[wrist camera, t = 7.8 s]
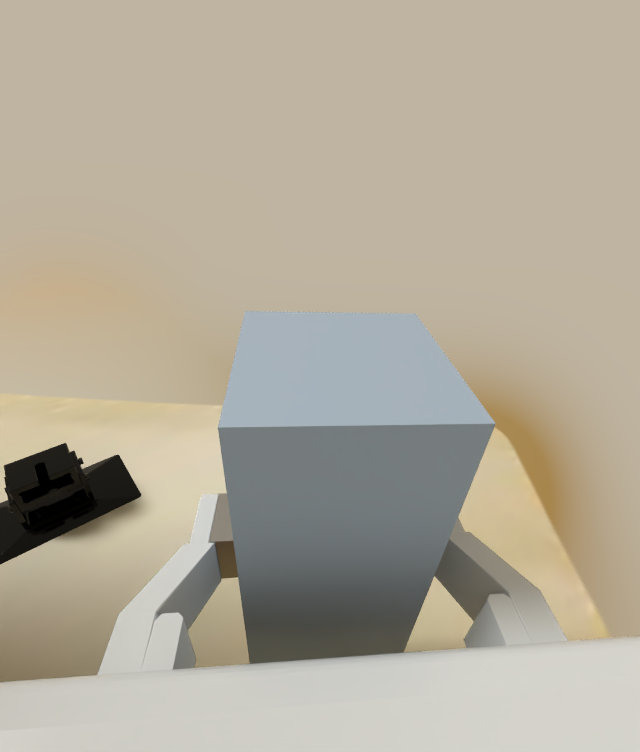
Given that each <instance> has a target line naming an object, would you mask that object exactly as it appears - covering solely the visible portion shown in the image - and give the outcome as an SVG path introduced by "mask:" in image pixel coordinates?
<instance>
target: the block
mask: <svg viewBox="0 0 640 752" xmlns="http://www.w3.org/2000/svg"><path fill="white" fill-rule="evenodd" d="M494 426H495V422H494V421H493V420H492V418H491V417H490V416H489V414H488V413H487V411H486V410H485V408H484V407H483V406H482V404H481V403H480V402H479V400H478V399H477V397H476V396H475V395H474V393H473V392H472V391H471V389H470V388H469V386H468V385H467V384H466V382H465V381H464V380H463V378H462V377H461V375H460V374H459V373H458V371H457V370H456V369H455V367H454V366H453V364H452V363H451V362H450V360H449V359H448V358H447V356H446V355H445V354H444V352H443V351H442V349H441V348H440V347H439V345H438V344H437V343H436V341H435V340H434V338H433V337H432V336H431V334H430V333H429V332H428V330H427V329H426V327H425V326H424V325H423V323H422V322H421V321H420V319H419V318H418V317H417V315H416V314H397V313H329V312H328V313H327V312H259V311H255V312H254V311H245V315H244V319H243V323H242V327H241V332H240V336H239V340H238V345H237V349H236V353H235V357H234V362H233V366H232V370H231V374H230V379H229V383H228V387H227V392H226V396H225V401H224V404H223V409H222V413H221V417H220V421H219V426H218V431H219V438H220V445H221V453H222V460H223V468H224V475H225V482H226V490H227V497H228V505H229V512H230V519H231V527H232V534H233V542H234V549H235V556H236V564H237V571H238V579H239V586H240V593H241V601H242V608H243V616H244V623H245V630H246V638H247V645H248V653H249V660H250V664H255V663H269V662H282V661H296V660H310V659H323V658H337V657H351V656H365V655H378V654H392V653H403V652H404V649H405V647H406V645H407V642H408V640H409V637H410V635H411V632H412V630H413V627H414V625H415V622H416V620H417V617H418V615H419V612H420V610H421V607H422V605H423V602H424V600H425V597H426V595H427V592H428V590H429V588H430V585H431V583H432V580H433V578H434V575H435V573H436V570H437V568H438V565H439V563H440V560H441V558H442V555H443V553H444V550H445V548H446V545H447V543H448V540H449V538H450V535H451V533H452V531H453V528H454V526H455V523H456V521H457V518H458V516H459V513H460V511H461V508H462V506H463V503H464V501H465V498H466V496H467V493H468V491H469V488H470V486H471V483H472V481H473V478H474V476H475V474H476V471H477V469H478V466H479V464H480V461H481V459H482V456H483V454H484V451H485V449H486V446H487V444H488V441H489V439H490V436H491V434H492V431H493V429H494Z"/></svg>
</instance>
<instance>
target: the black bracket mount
mask: <svg viewBox="0 0 640 752" xmlns="http://www.w3.org/2000/svg"><path fill="white" fill-rule="evenodd" d="M81 464H83V460H82V458H79V459H78V458H77V456H76V453H75V451H72V452H70V451H69V449H68V446H67V444H66V443H64V444H61V445H58V446H56V447H53V448H50V449H48V450H45V451H42V452H40V453H37V454H34V455H31V456H29V457H26V458H23V459H21V460H18V461H15V462H12V463H10V464H7V465H4V470H5V476H6V477H4V478H5V484H6V488H5V491H6V493H7V495H8V500H7V501H5V502H2V503H0V564H2V563H4V562H6V561H8V560H10V559H12V558H14V557H17V556H19V555H21V554H23V553H25V552H27V551H29V550H31V549H33V548H35V547H37V546H39V545H41V544H44V543H46V542H48V541H50V540H52V539H54V538H56V537H58V536H60V535H62V534H64V533H66V532H69V531H71V530H73V529H75V528H77V527H79V526H81V525H83V524H85V523H87V522H89V521H91V520H93V519H96V518H98V517H100V516H102V515H104V514H106V513H108V512H110V511H112V510H114V509H116V508H118V507H120V506H123V505H125V504H127V503H129V502H131V501H133V500H135V499H137V498H139V497H140V496H141V493H140V492H139V490H138V488H137V486H136V484H135V483H134V481H133V479H132V477H131V476H130V474H129V472H128V470H127V469H126V467H125V465H124V463H123V461H122V460H121V458H120V456H119V455H115V456H113V457H110V458H108V459H105V460H103V461H101V462H98V463H96V464H93V465H91V466H89V467H86V468H84V469H82V467H81Z"/></svg>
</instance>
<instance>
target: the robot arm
mask: <svg viewBox="0 0 640 752" xmlns="http://www.w3.org/2000/svg"><path fill="white" fill-rule="evenodd" d="M434 576H435V577H436V578H437V579H438V580H439V581H440V582H441V584H442V585H443V586H444V587H445V588H446V589H447V591H448V592H449V593H450V594H451V595H452V596H453V598H454V599H455V600H456V601H457V602H458V603H459V605H460V606H461V607H462V608H463V609H464V610H465V611H466V613H467V614H468V615H469V616H470V617H471V618H472V620H473V621H474V622H473V624H472V626H471V627H470V629H469V631H468V633H467V634H466V636H465V638H464V642H465V645H466V648H461V649H447V650H433V651H420V652H406V653H392V654H378V655H365V656H351V657H337V658H323V659H310V660H296V661H282V662H269V663H255V664H241V665H227V666H214V667H200V668H195V662H196V657H195V654H194V650H193V647H192V644H191V641H190V638H189V634H188V630H189V628H190V627H191V625H192V624H193V622H194V621H195V619H196V618H197V616H198V615H199V613H200V612H201V610H202V609H203V607H204V606H205V604H206V603H207V601H208V600H209V598H210V597H211V595H212V594H213V592H214V591H215V589H216V588H217V586H218V585H219V583H220V582H221V579H222V578H235V577H238V571H237V564H236V556H235V549H234V542H233V534H232V527H231V519H230V512H229V505H228V497H227V494H202V496H201V498H200V501H199V505H198V509H197V514H196V518H195V522H194V526H193V530H192V535H191V539H190V543H188V544H184V545H183V546H182V547H181V548H180V549H179V550H178V551H177V552H176V553H175V554H174V555H173V556H172V558H171V559H170V560H169V561H168V562H167V563H166V564H165V565H164V566H163V567H162V568H161V569H160V570H159V572H158V573H157V574H156V575H155V576H154V577H153V578H152V579H151V580H150V581H149V582H148V583H147V584H146V586H145V587H144V588H143V589H142V590H141V591H140V592H139V593H138V594H137V595H136V596H135V597H134V598H133V600H132V601H131V602H130V603H129V604H128V605H127V606H126V607H125V608H124V609H123V610H122V611H121V612H120V614H119V615H118V618H117V621H116V624H115V626H114V629H113V632H112V635H111V638H110V640H109V643H108V646H107V649H106V652H105V655H104V657H103V660H102V663H101V666H100V669H99V672H98V674H97V675H90V676H77V677H63V678H49V679H35V680H22V681H8V682H0V752H640V636H627V637H613V638H599V639H585V640H572V641H568V640H567V638H566V636H565V634H564V632H563V631H562V629H561V627H560V625H559V623H558V622H557V620H556V618H555V616H554V614H553V613H552V611H551V609H550V607H549V606H548V604H547V602H546V600H545V598H544V597H543V595H542V593H541V591H540V590H539V589H538V588H537V587H535V586H534V585H533V584H532V583H531V582H529V581H528V580H527V579H526V578H525V577H523V576H522V575H521V574H520V573H519V572H517V571H516V570H515V569H514V568H513V567H511V566H510V565H509V564H508V563H506V562H505V561H504V560H503V559H502V558H500V557H499V556H498V555H497V554H496V553H494V552H493V551H492V550H491V549H490V548H488V547H487V546H486V545H485V544H484V543H482V542H481V541H480V540H479V539H478V538H476V537H475V536H474V535H473V534H472V533H470V532H465V531H464V529H463V526H462V524H461V522H460V520H459V518H457V521H456V523H455V526H454V528H453V531H452V533H451V535H450V538H449V540H448V543H447V545H446V548H445V550H444V553H443V555H442V558H441V560H440V563H439V565H438V568H437V570H436V573H435V575H434Z"/></svg>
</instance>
